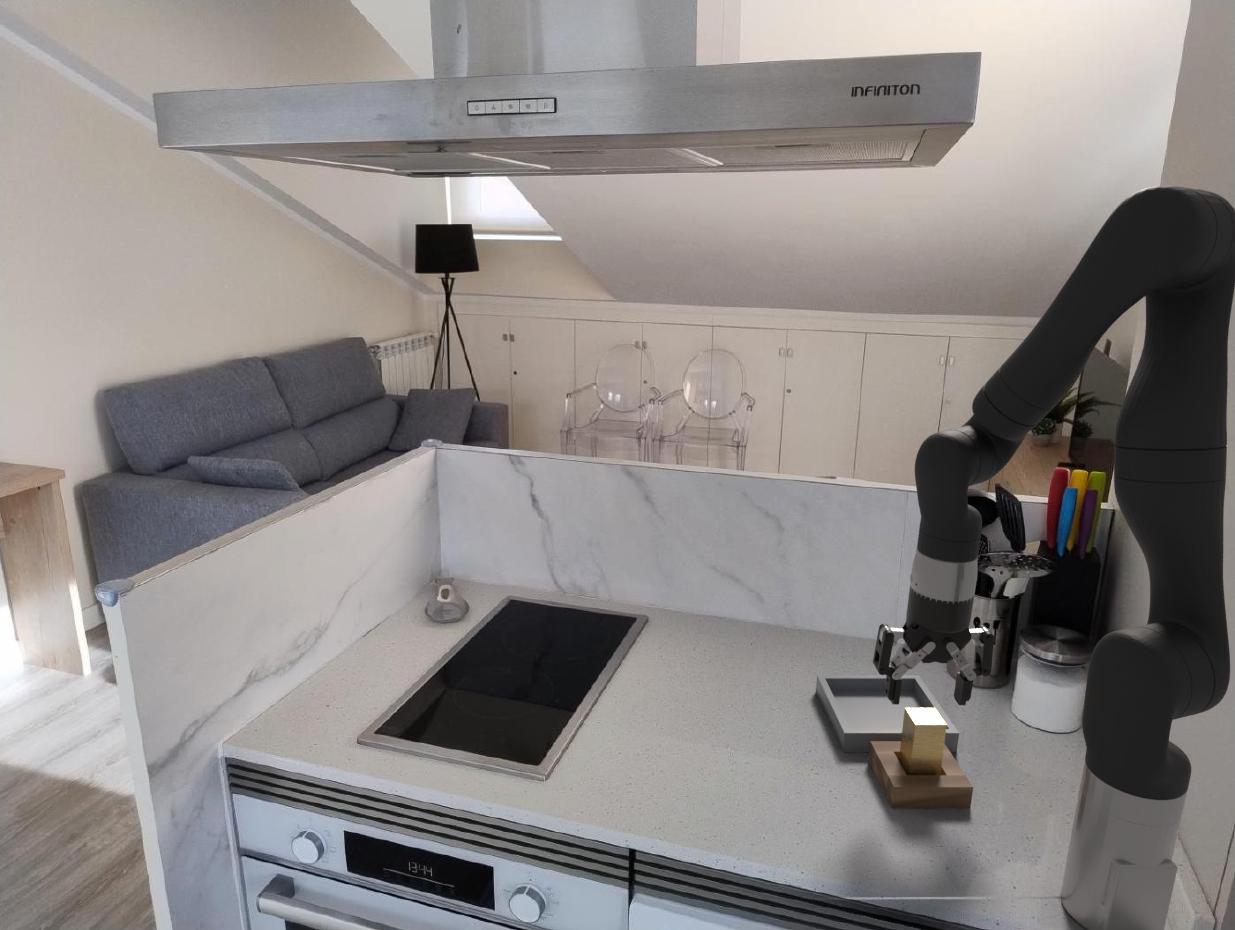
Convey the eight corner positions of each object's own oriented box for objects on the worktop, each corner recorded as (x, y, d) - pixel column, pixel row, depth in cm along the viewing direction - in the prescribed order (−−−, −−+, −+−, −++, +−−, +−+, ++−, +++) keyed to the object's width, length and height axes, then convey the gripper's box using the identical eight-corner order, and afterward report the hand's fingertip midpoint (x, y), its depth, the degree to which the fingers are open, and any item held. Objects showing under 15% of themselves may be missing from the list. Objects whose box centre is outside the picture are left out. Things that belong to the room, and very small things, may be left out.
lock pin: (938, 792, 114) (946, 724, 111) (907, 792, 113) (915, 724, 111) (926, 774, 117) (935, 707, 115) (897, 774, 117) (904, 707, 115)
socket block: (970, 807, 111) (973, 787, 110) (891, 807, 111) (894, 787, 110) (940, 760, 120) (943, 741, 120) (868, 760, 120) (870, 741, 119)
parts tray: (956, 752, 122) (959, 733, 122) (842, 752, 122) (844, 733, 121) (916, 692, 138) (918, 675, 137) (815, 692, 137) (817, 675, 137)
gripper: (894, 598, 104) (880, 717, 109) (1013, 599, 104) (993, 718, 109) (875, 572, 111) (863, 685, 116) (987, 574, 112) (969, 686, 116)
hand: (926, 701), depth 113 cm, fingers open, 8 cm apart
